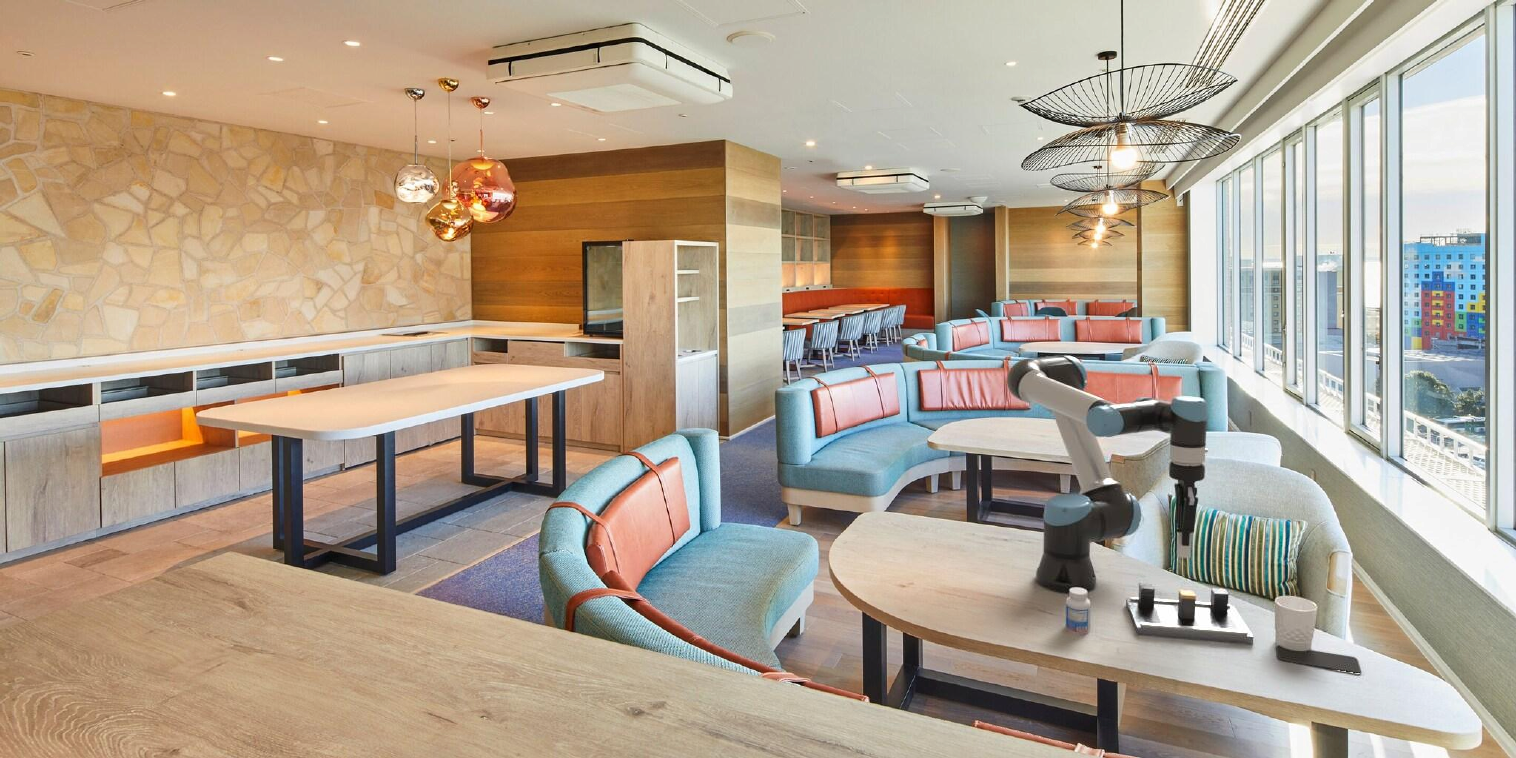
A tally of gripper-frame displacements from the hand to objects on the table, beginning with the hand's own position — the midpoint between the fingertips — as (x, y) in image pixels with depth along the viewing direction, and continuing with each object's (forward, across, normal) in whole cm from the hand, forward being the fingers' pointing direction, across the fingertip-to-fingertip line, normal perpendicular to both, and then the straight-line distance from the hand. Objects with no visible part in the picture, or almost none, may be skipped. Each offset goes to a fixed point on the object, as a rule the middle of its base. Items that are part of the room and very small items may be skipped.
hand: (1183, 556), depth 199 cm
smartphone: (+15, -19, -23) cm, 33 cm away
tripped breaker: (+12, -6, 0) cm, 14 cm away
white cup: (+15, -13, -20) cm, 28 cm away
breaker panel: (+15, -6, 0) cm, 16 cm away
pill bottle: (+15, -13, +25) cm, 32 cm away
